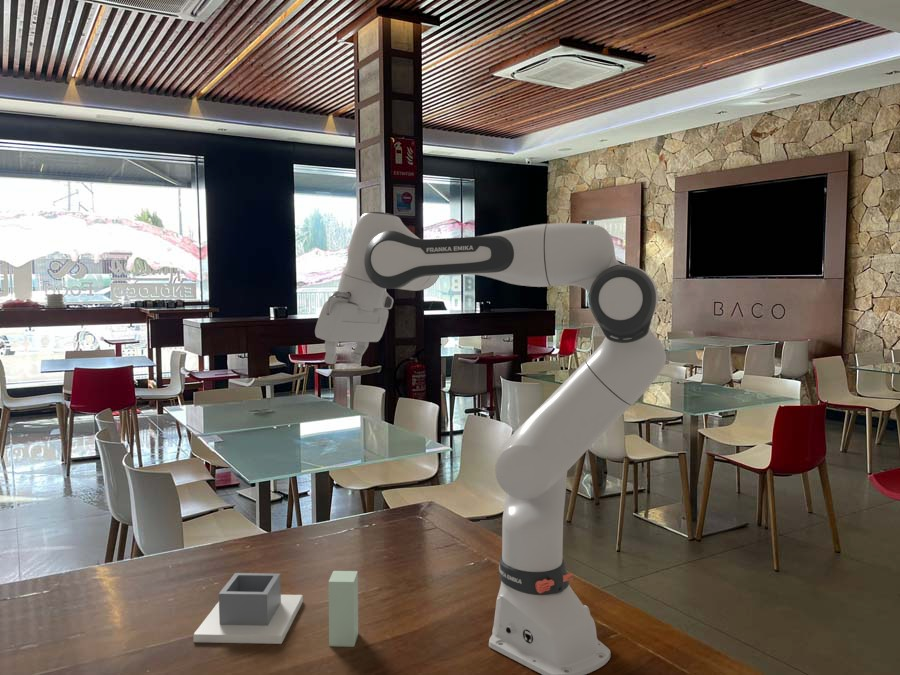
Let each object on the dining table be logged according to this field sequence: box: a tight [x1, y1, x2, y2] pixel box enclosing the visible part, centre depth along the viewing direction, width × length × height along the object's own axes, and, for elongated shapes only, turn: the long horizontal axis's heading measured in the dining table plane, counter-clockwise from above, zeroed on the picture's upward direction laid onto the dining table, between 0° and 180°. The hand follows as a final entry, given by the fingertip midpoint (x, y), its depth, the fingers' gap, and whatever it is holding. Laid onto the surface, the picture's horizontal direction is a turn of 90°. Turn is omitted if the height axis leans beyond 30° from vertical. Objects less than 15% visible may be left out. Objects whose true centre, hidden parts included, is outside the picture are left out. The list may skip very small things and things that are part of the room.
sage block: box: [327, 570, 359, 648], centre depth 125 cm, size 4×4×12 cm
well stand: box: [192, 572, 304, 645], centre depth 132 cm, size 16×16×8 cm
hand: (342, 362), depth 134 cm, fingers open, 8 cm apart
